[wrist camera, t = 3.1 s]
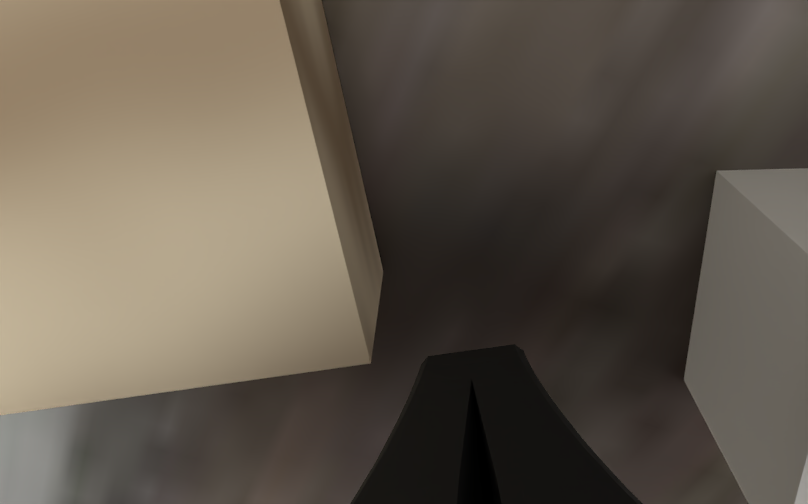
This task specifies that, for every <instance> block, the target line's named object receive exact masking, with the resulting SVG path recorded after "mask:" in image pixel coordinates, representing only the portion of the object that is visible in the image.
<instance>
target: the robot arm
mask: <svg viewBox="0 0 808 504" xmlns="http://www.w3.org/2000/svg"><path fill="white" fill-rule="evenodd" d="M351 504H642V503H641V502H640V501H639V500H638V499H637V498H636V497H635V496H634V495H633V494H632V493H631V492H630V491H629V490H628V489H627V488H626V487H625V485H624V484H623V483H622V482H621V481H620V480H619V479H618V478H617V477H616V476H615V475H614V474H613V473H612V472H611V470H610V469H609V468H608V467H607V466H606V465H605V464H604V463H603V462H602V461H601V460H600V459H599V457H598V456H597V455H596V454H595V453H594V452H593V451H592V449H591V448H590V447H589V446H588V445H587V444H586V442H585V441H584V440H583V439H582V438H581V436H580V435H579V434H578V433H577V431H576V430H575V429H574V428H573V426H572V425H571V424H570V423H569V421H568V420H567V419H566V418H565V416H564V415H563V414H562V413H561V411H560V410H559V409H558V407H557V406H556V404H555V403H554V402H553V400H552V399H551V398H550V396H549V395H548V393H547V392H546V390H545V389H544V387H543V386H542V384H541V383H540V381H539V380H538V378H537V376H536V375H535V373H534V371H533V370H532V368H531V366H530V364H529V362H528V360H527V358H526V356H525V354H524V351H523V350H522V349H520V348H519V347H517V346H516V345H515V344H514V345H507V346H500V347H493V348H486V349H478V350H471V351H464V352H457V353H449V354H442V355H435V356H428V357H427V359H426V360H425V361H424V362H423V363H422V365H421V368H420V371H419V373H418V376H417V378H416V381H415V383H414V386H413V388H412V391H411V393H410V395H409V397H408V400H407V402H406V404H405V406H404V408H403V410H402V413H401V415H400V417H399V419H398V421H397V423H396V425H395V427H394V429H393V430H392V432H391V434H390V436H389V438H388V440H387V442H386V444H385V446H384V448H383V450H382V451H381V453H380V455H379V457H378V459H377V461H376V462H375V464H374V466H373V468H372V469H371V471H370V472H369V474H368V476H367V477H366V479H365V481H364V482H363V484H362V486H361V487H360V489H359V490H358V492H357V494H356V495H355V497H354V499H353V500H352V502H351Z"/></svg>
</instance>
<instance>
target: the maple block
mask: <svg viewBox="0 0 808 504" xmlns="http://www.w3.org/2000/svg"><path fill="white" fill-rule="evenodd" d="M382 278H383V268H382V264H381V259H380V255H379V250H378V246H377V242H376V237H375V233H374V228H373V224H372V220H371V215H370V211H369V206H368V202H367V198H366V193H365V189H364V184H363V180H362V176H361V171H360V167H359V162H358V158H357V154H356V149H355V145H354V140H353V136H352V132H351V127H350V123H349V118H348V114H347V110H346V105H345V101H344V96H343V92H342V88H341V83H340V79H339V75H338V70H337V66H336V61H335V57H334V53H333V48H332V44H331V39H330V35H329V31H328V26H327V22H326V17H325V13H324V9H323V4H322V0H0V415H5V414H12V413H20V412H27V411H34V410H41V409H48V408H55V407H63V406H70V405H77V404H84V403H91V402H98V401H105V400H113V399H120V398H127V397H134V396H141V395H148V394H155V393H163V392H170V391H177V390H184V389H191V388H198V387H206V386H213V385H220V384H227V383H234V382H241V381H248V380H256V379H263V378H270V377H277V376H284V375H291V374H298V373H306V372H313V371H320V370H327V369H334V368H341V367H349V366H356V365H363V364H370V363H371V359H372V351H373V344H374V337H375V329H376V322H377V314H378V307H379V300H380V292H381V285H382Z"/></svg>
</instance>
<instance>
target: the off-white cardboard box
mask: <svg viewBox="0 0 808 504" xmlns="http://www.w3.org/2000/svg"><path fill="white" fill-rule="evenodd" d="M684 382H685V383H686V385H687V387H688V389H689V391H690V393H691V395H692V397H693V399H694V401H695V403H696V404H697V406H698V408H699V410H700V412H701V414H702V416H703V418H704V420H705V422H706V424H707V426H708V427H709V429H710V431H711V433H712V435H713V437H714V439H715V441H716V443H717V445H718V447H719V448H720V450H721V452H722V454H723V456H724V458H725V460H726V462H727V464H728V466H729V468H730V470H731V471H732V473H733V475H734V477H735V479H736V481H737V483H738V485H739V487H740V489H741V491H742V492H743V494H744V496H745V498H746V500H747V502H748V504H808V168H797V169H760V170H726V171H716V177H715V184H714V190H713V196H712V203H711V209H710V216H709V222H708V228H707V235H706V241H705V247H704V254H703V260H702V267H701V273H700V279H699V286H698V292H697V298H696V305H695V311H694V317H693V324H692V330H691V337H690V343H689V349H688V356H687V362H686V368H685V375H684Z"/></svg>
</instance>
